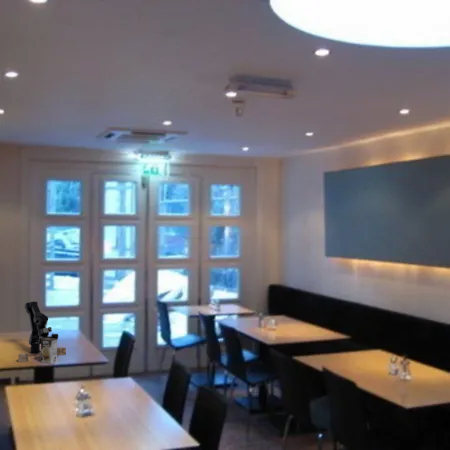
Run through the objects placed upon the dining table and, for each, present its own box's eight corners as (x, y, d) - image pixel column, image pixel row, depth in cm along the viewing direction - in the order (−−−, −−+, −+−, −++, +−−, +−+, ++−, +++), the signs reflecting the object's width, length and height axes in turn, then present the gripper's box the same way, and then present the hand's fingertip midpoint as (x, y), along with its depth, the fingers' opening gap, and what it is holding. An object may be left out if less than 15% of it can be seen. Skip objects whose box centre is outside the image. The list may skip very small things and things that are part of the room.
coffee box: (40, 362, 410) (40, 338, 410) (46, 360, 416) (46, 337, 415) (51, 363, 406) (51, 340, 406) (57, 361, 412) (57, 338, 412)
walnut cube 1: (20, 360, 415) (20, 353, 415) (28, 360, 415) (28, 353, 415) (18, 362, 410) (18, 354, 410) (25, 362, 410) (25, 354, 410)
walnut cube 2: (61, 353, 437) (61, 346, 436) (65, 354, 434) (65, 347, 434) (55, 355, 432) (55, 347, 432) (60, 356, 430) (60, 348, 429)
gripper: (30, 324, 415) (34, 343, 406) (57, 322, 425) (62, 340, 416) (27, 334, 422) (32, 352, 412) (54, 331, 432) (59, 349, 422)
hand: (46, 348), depth 416 cm, fingers closed
